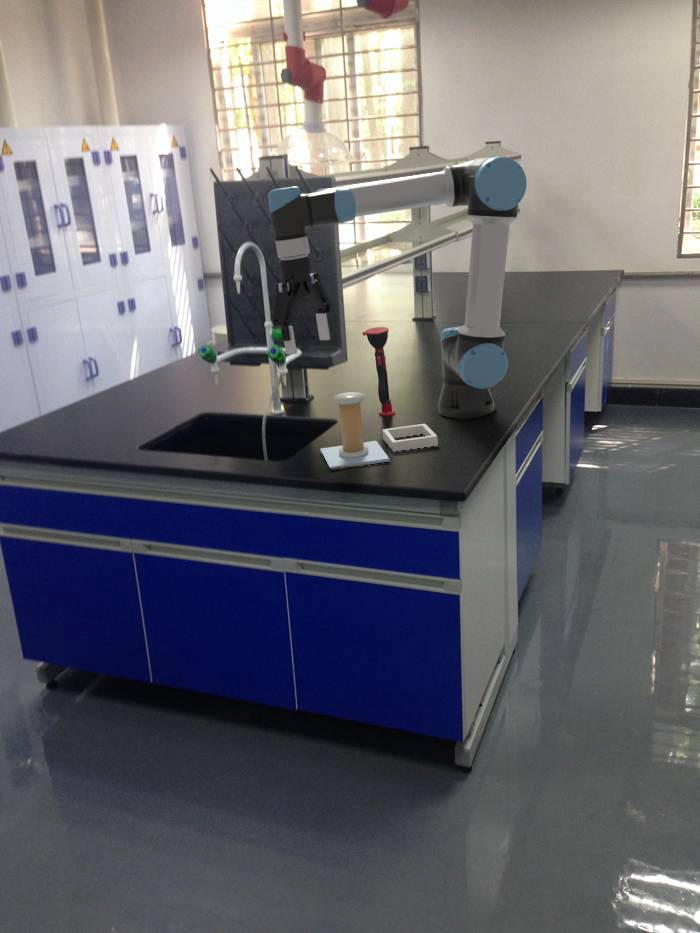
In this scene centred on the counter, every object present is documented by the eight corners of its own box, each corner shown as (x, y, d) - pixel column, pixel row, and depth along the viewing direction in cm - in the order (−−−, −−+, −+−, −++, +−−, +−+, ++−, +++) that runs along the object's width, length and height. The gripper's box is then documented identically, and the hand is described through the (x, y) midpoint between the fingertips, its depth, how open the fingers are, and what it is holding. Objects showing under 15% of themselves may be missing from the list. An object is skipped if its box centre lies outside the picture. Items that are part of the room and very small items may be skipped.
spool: (366, 446, 202) (361, 390, 197) (370, 456, 195) (365, 398, 190) (337, 450, 201) (332, 394, 196) (340, 459, 194) (335, 401, 190)
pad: (376, 444, 206) (376, 440, 205) (389, 462, 193) (389, 458, 192) (320, 452, 204) (320, 448, 203) (330, 471, 191) (329, 466, 190)
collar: (425, 433, 211) (424, 423, 210) (437, 445, 201) (437, 436, 200) (383, 439, 209) (382, 429, 208) (393, 452, 199) (392, 442, 198)
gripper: (312, 249, 205) (326, 334, 212) (247, 267, 187) (264, 359, 194) (337, 247, 201) (350, 334, 208) (273, 265, 182) (289, 360, 189)
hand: (308, 346), depth 201 cm, fingers open, 13 cm apart
